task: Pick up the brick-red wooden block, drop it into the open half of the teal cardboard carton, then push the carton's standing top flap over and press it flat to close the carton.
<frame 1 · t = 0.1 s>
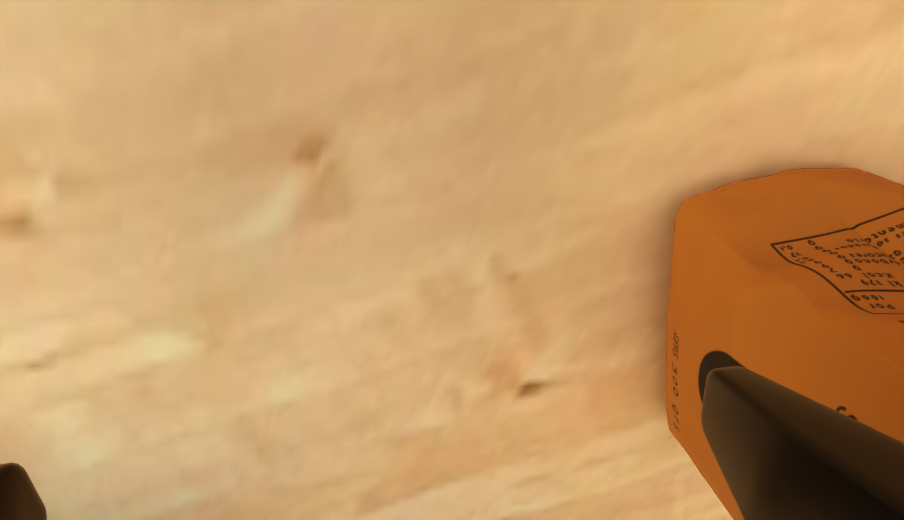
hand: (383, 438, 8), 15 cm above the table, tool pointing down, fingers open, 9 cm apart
coffee package: (743, 294, 26), on the table
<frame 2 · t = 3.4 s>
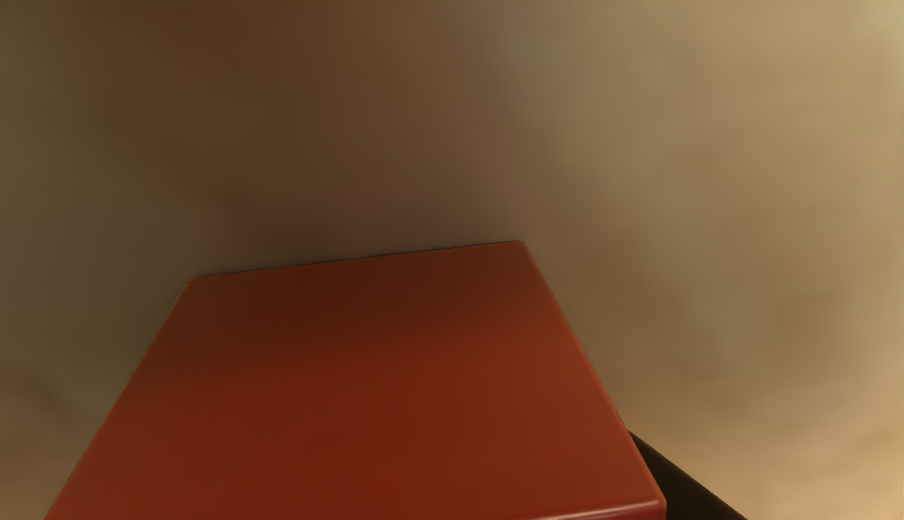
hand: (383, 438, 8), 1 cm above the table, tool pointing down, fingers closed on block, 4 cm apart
block: (380, 389, 9), on the table, touching gripper
when the fingers open (7 cm above the table, at t = 8.1 s): block drops 5 cm, resting on carton.
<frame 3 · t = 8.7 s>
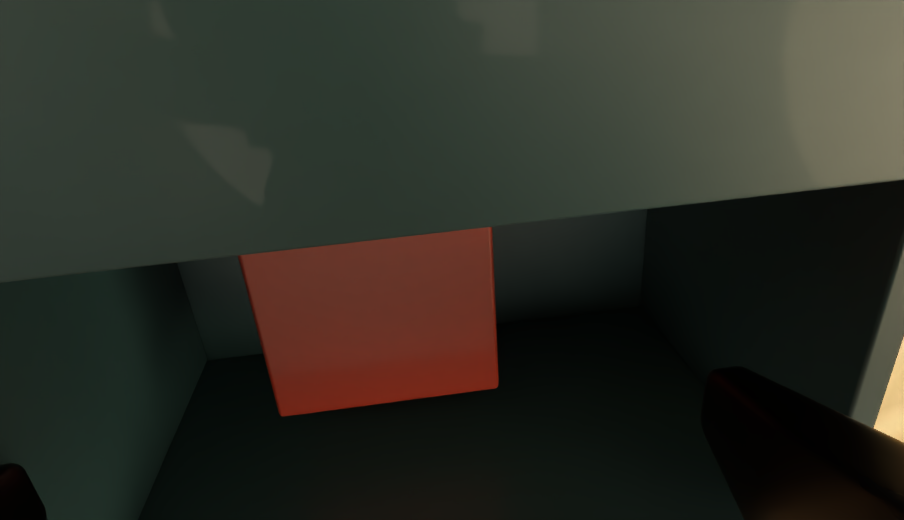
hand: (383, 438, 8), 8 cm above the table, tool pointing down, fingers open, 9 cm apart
carton: (403, 88, 14), on the table
block: (376, 219, 15), resting on carton
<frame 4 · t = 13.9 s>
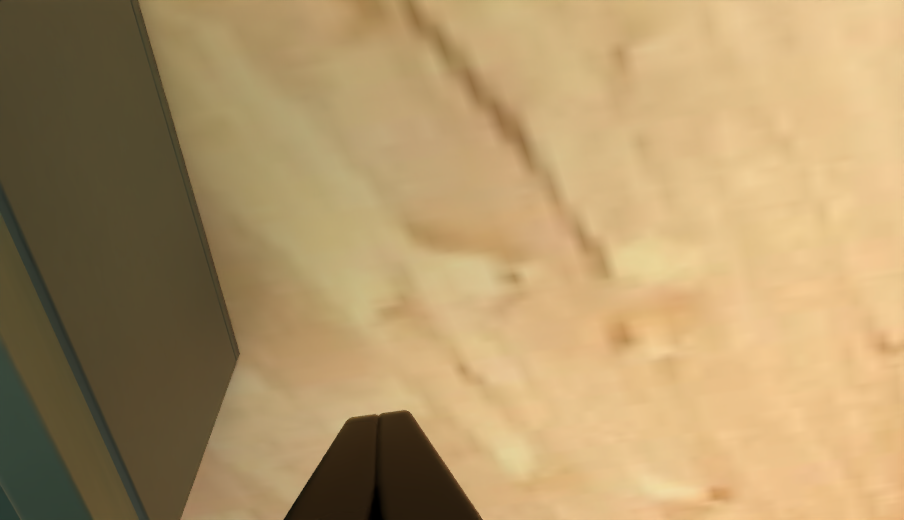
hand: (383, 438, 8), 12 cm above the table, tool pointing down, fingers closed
flap: (74, 446, 7), point 12 cm above the table, hinge at 121.9°, touching gripper
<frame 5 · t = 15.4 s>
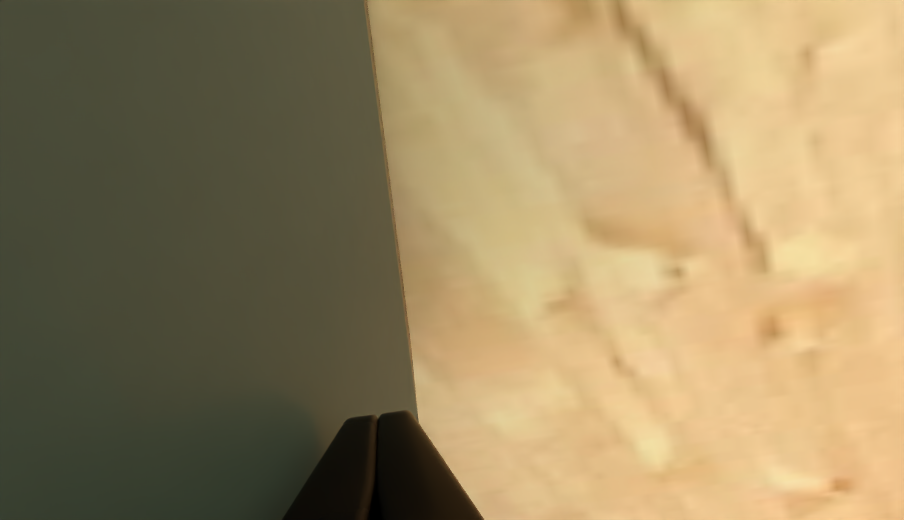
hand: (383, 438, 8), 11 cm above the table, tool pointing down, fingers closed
carton: (153, 196, 17), on the table
flap: (299, 472, 7), point 12 cm above the table, hinge at 67.2°, touching gripper
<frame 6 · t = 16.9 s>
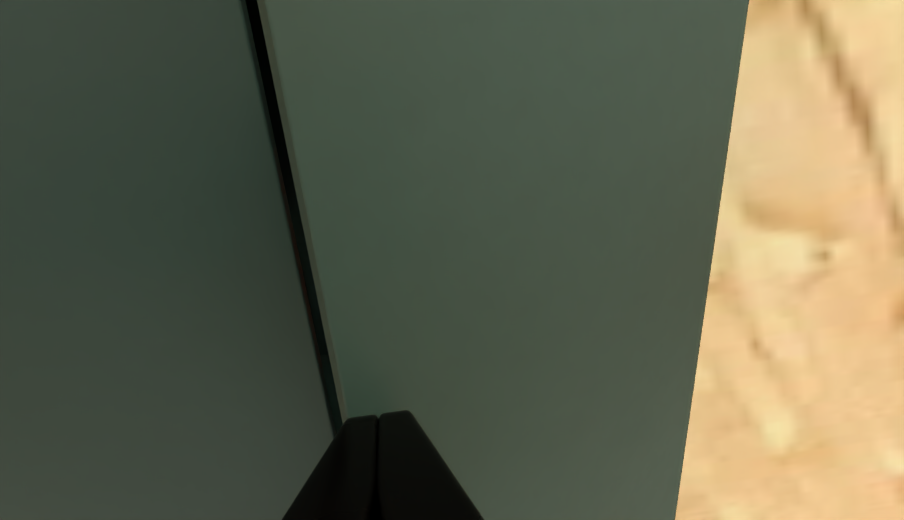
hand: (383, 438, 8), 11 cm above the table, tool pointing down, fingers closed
carton: (342, 177, 18), on the table
flap: (551, 348, 9), point 10 cm above the table, hinge at 23.0°, touching gripper
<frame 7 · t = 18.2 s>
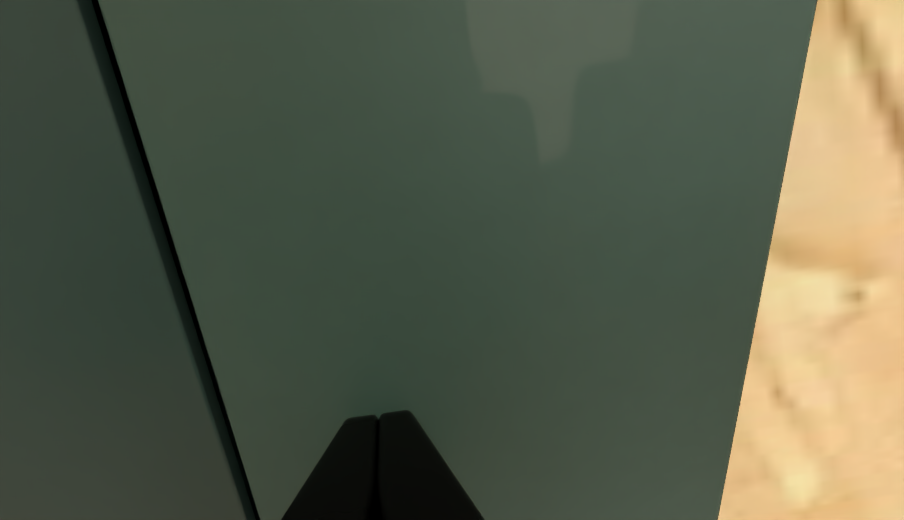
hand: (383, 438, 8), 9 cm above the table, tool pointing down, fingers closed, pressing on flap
carton: (305, 212, 15), on the table
flap: (496, 413, 8), point 9 cm above the table, hinge at -0.3°, touching gripper
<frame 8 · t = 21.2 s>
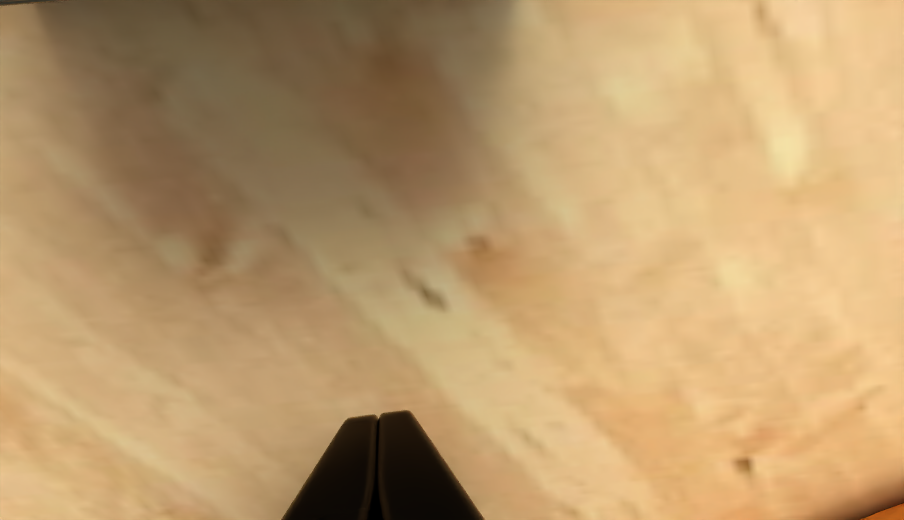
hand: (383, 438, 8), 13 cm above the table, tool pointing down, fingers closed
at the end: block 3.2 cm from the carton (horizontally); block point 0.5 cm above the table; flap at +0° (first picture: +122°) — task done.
